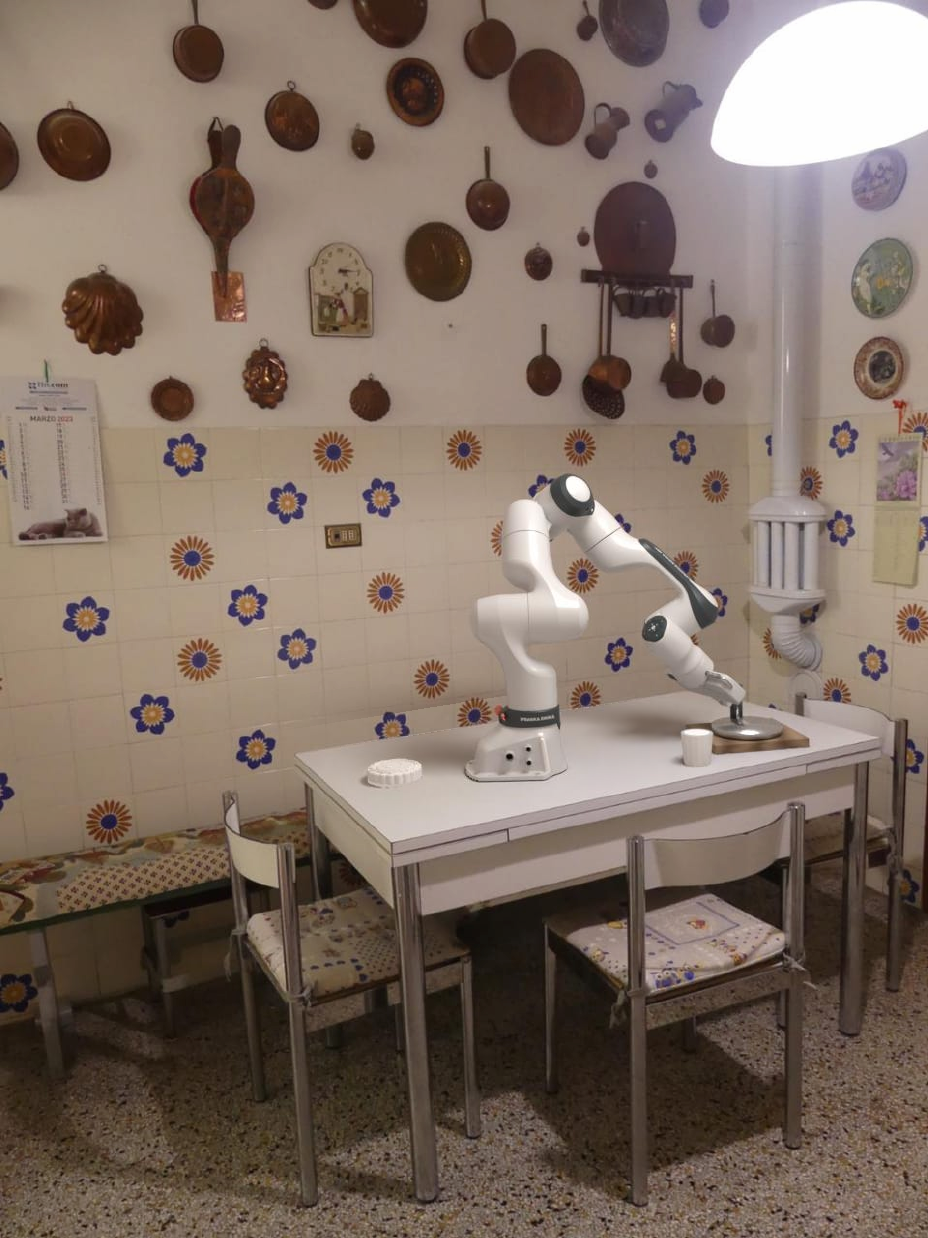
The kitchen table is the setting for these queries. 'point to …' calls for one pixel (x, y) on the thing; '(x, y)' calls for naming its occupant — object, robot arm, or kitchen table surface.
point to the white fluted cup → (697, 747)
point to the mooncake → (394, 771)
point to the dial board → (754, 741)
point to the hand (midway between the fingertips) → (727, 704)
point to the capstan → (746, 725)
